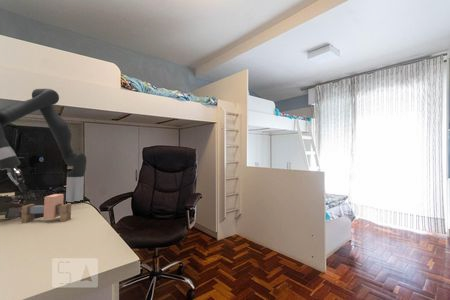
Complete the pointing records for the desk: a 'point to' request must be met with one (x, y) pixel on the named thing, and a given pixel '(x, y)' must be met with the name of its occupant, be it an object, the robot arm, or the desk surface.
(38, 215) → the calculator
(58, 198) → the collar
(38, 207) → the grey metal bar
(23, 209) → the stand
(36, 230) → the desk surface
